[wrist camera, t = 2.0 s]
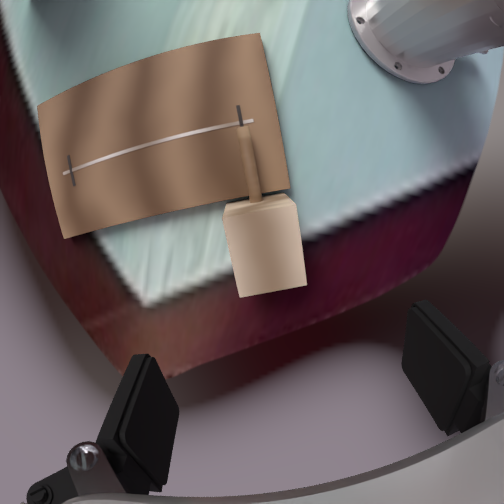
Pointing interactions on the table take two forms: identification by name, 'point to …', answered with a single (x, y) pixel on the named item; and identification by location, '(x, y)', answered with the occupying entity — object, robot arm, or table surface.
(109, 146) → the board
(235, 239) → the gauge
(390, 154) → the table surface
